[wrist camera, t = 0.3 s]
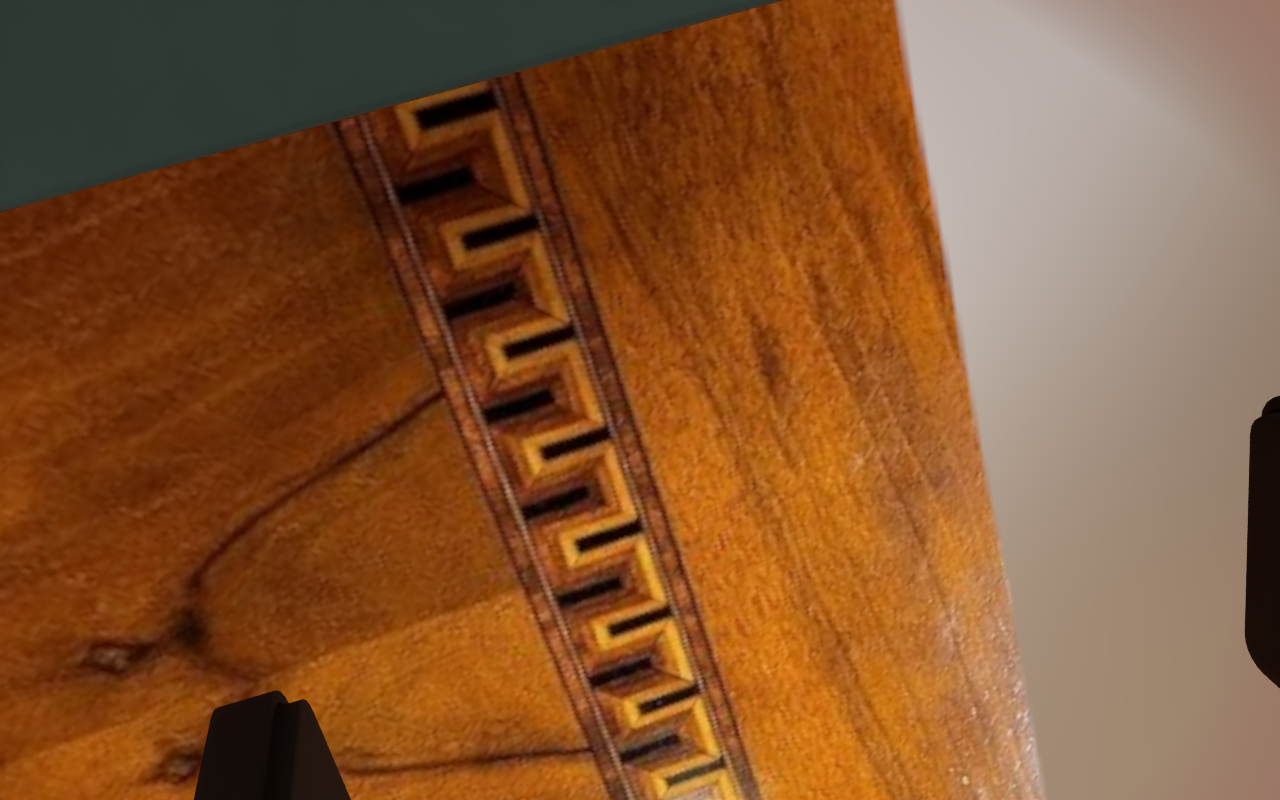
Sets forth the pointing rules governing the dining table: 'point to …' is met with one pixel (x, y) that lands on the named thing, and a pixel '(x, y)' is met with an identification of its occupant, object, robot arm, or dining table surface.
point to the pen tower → (261, 70)
